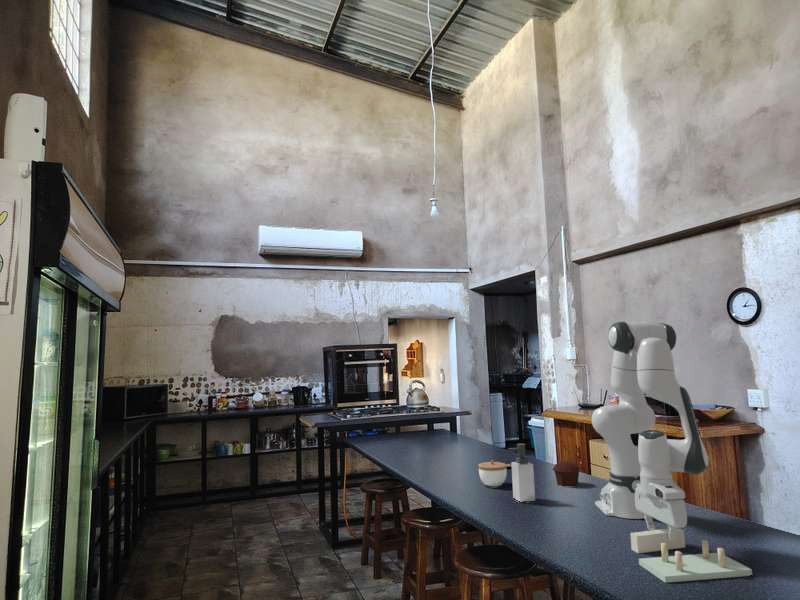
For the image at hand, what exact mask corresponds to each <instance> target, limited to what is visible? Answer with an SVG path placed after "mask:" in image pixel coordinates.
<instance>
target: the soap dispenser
mask: <svg viewBox="0 0 800 600" xmlns="http://www.w3.org/2000/svg"><path fill="white" fill-rule="evenodd" d="M516 446H517V447H509V448H507V452H509V453H511V452H513V453H514V452H517V457H515V461H511V463H510V464H511V465H512V466H511V479H512V480H511V482H512V483H511V484H512V499H513V498H515V499H516V500H518V501H520V502H523V501H534V500H535V501H536V492H535V473H534V464H533V463H531V462H530V461H529V460H528V457H526V444H525V443H516ZM516 500H515V501H516ZM518 501H517V502H518Z"/></svg>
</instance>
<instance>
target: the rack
mask: <svg viewBox="0 0 800 600" xmlns="http://www.w3.org/2000/svg"><path fill="white" fill-rule="evenodd" d="M701 548H702V549H701V550H702V553H696V554H685V555H684V554H683V552H681V551H679V550H675V551H674V555H673V556H672V555H670V556H669V549H668V547H667V544H666V543H661V550H660V551H661V556H658V557H646V558H645V557H644V558H643V557H642V558H638V565H640V566H641V568H643V569H645V570H646V571H648V572H649V573H651V574H652V575H654V576H655V577H656V578H658V579H659V580H661V581H662V582H664V583H665V584H666V583H667V584H669V583H678V582H679V583H680V582H681V583H682V582H688V581H689V582H691V581H692V582H693V581H701V580H713V579H714V580H715V579H727V578H728V579H729V578H737V577H739V578H741V577H750V575H752V576H753V570H752V569H751V568H750V567H748V566H747V565H744V564H742V563H740V562H738V561H737V560H734V559H732V558H730V557H728V556H727V555H726V554H725V553H726V552H725V549H724V548H722V547H717V548H716V549H717V552H710V547H709V540H706V539H701Z"/></svg>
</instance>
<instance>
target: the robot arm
mask: <svg viewBox="0 0 800 600" xmlns="http://www.w3.org/2000/svg"><path fill="white" fill-rule="evenodd" d="M607 338H608V340H607V341H608V344H609V346H610V347H611V348H612V349H613V350H614V352H613V356H612V363H611V372H610V373H611V374H610V384H609V385H610V387H611V389H612V390H613V391H614V392H615V393H617V395H618V400H619V402H618V404H608V405H603V406H601V407H598V408H596V409H594V410H593V413H592V415H591V425H592V427H593V429H594V430H595V432H596V433H597V434H598V435H600V436H601V437H602V438H603V440H604V442H605V444H606V446H607V448H608V452H609V461H610V471H608V476H609V477H608V483H607V484H606V485H605V486H604V487H602V488H601V490H600V492H599V498H600V500H596V501H594V504H595V506H596V507H597V508H598V509H599V510H600V511H601V512H602V513H603V514H604V515H605V516H610V517H618V518H623V519H628V520H629V519H630V520H631V519H634V520H640V519H644V521H645V522H646V525H647V526H646V527H647V529H648V531H651V530H657V528H656V524H655V523H654V520H653V519H655V520H657V521H659V522H662V523H664V524H666V525H667V529H668V528H669V532H668V533H667V539H669V540H671V541H674V540H676V536H675V534H676V532H677V529H678V528H679V529H681V528H682V529H683V528H685V527H687V525H688V512H687V505H686V503H685V502H686V501H684V499H685V498H686V493H685V491H684V490H683V489H682V488H681V487H680V486H679V485H677V484H676V483H677V482H675V481H673V474H672V472H677V473H685V474H689V475H696V476H697V475H700V474H701V473H703V472H704V471H705V470H707V468H708V466H709V457H708V452H707V449H706V447H705V445H704V442H703V439H702V435H701V433H700V428H699V424H698V421H697V417H696V414H695V410H694V408H693V404H692V400H691V397H690V395H689V392H688V391H687V388H685V387H684V386H682V385H680V384H679V382H678V380H677V378H676V374H675V364H674V358H673V354H672V350H673V349H674V348H675V347H676V343H677V334H676V331H675V329H674V327H673V326H672V325H670V324H667V323H664V322H663V323H662V322H660V323H658V322H657V323H656V322H651V321H618V322H615V323H613V324H612V325H611V326H610V328H609V329H608V335H607ZM645 395H646V396H648V397H650V398H651V399H654V400H657V401H659V402H662V403H665V404H668V405H669V406H671V407H672V408H674V409H675V410H676V411H677V412H678V414H679V417H680V421H681V425H682V429H683V432H684V437H685V438H684V439H669V438H668V437H667V434H666V433H665V432H664V431H662V430H659V429H652V428H653V427H654V425H655V424H656V414H655V412H654V410H653V408H652V407H651V406H650V405H649V404H648V402H647V399H646V396H645ZM633 434H638V441H637V443H638V444H637V446H636V445H635V444H634V442H633V439H632V437H631V435H633Z"/></svg>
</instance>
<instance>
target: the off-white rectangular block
mask: <svg viewBox="0 0 800 600" xmlns="http://www.w3.org/2000/svg"><path fill="white" fill-rule="evenodd" d="M668 532H669V528H668V527H667V528H662V529H655V530H645V531H638V532H637V531H635V532H630V534H629V535H630V545H631V546H630V547H631V550H632V551H633V552H635V553H636V554H644V553H652V552H659V551H661V543H666V544H667V547H668V550H673V549H674V550H675V549H682V548H686V540H685V538H686V537H685V530H684V529H681V528H678V529H677V532H676V534H675V536H676V540H674V541H671V540H669V539H667V533H668Z"/></svg>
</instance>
